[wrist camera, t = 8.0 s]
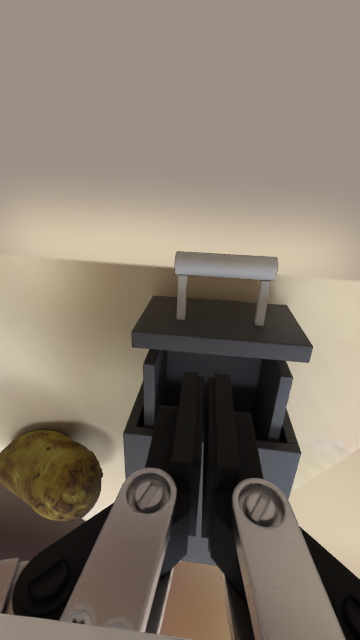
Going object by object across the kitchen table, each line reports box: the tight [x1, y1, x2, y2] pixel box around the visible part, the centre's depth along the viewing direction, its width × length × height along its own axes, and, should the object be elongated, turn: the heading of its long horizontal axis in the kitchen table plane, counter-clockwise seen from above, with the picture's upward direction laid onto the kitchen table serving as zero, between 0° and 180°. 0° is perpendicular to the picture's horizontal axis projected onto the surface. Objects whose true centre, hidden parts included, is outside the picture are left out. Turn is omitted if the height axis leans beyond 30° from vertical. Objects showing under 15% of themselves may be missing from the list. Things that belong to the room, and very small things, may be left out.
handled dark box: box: [131, 251, 313, 442], centre depth 24 cm, size 18×11×7 cm, turn 178°
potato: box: [0, 430, 103, 521], centre depth 32 cm, size 8×13×8 cm, turn 78°
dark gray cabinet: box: [123, 383, 301, 566], centre depth 28 cm, size 15×13×9 cm
